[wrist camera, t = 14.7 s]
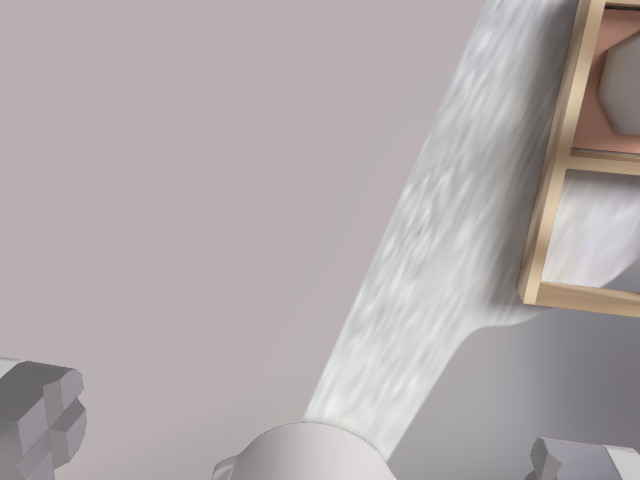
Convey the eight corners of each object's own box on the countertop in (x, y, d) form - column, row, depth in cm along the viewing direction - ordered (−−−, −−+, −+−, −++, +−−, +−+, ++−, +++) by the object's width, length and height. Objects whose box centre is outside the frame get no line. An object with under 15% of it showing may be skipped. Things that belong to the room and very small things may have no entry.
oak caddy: (665, 306, 40) (681, 322, 38) (516, 288, 41) (523, 303, 39) (765, 1, 33) (793, -2, 31) (581, -11, 34) (594, -14, 32)
